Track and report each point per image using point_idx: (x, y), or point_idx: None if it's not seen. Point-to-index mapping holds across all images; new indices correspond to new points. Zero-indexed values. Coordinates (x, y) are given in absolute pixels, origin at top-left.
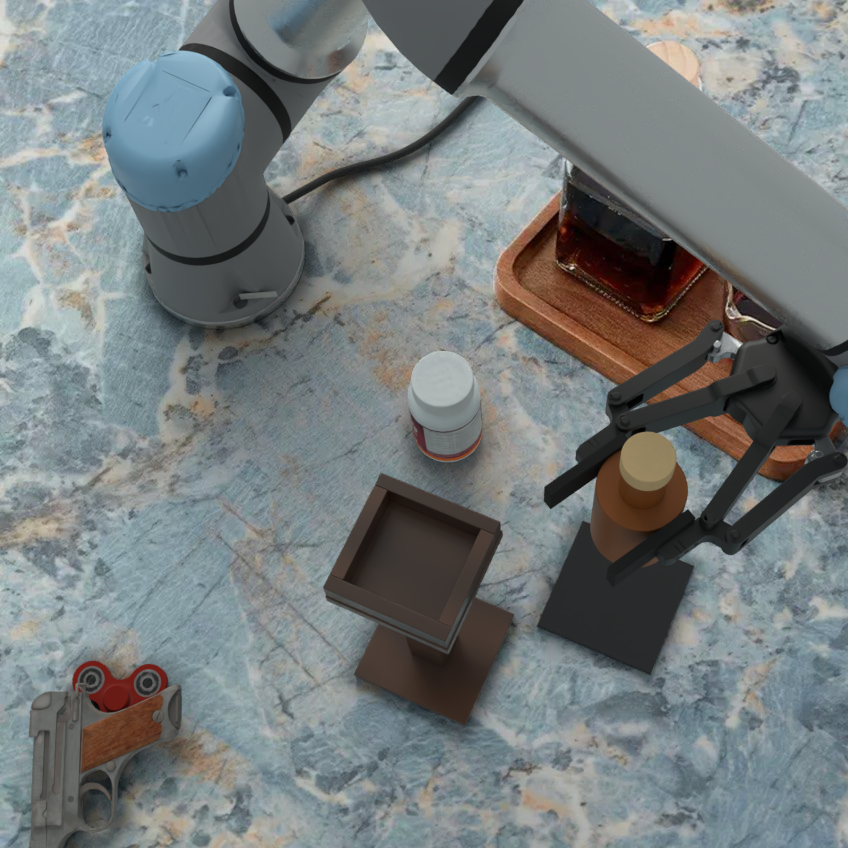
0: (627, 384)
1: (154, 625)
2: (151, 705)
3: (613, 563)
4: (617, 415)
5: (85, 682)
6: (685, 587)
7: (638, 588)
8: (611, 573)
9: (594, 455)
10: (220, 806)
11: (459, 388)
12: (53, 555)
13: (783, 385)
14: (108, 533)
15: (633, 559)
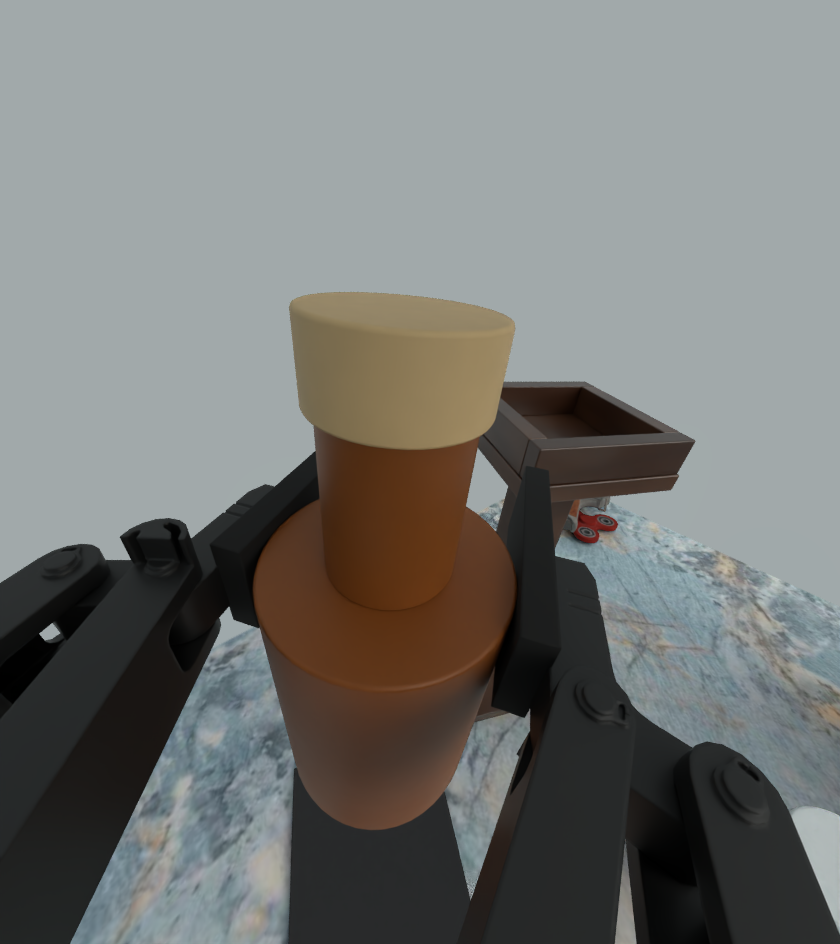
0: (814, 933)
1: (621, 561)
2: (572, 511)
3: None
4: (636, 734)
5: (605, 519)
6: None
7: (353, 882)
8: None
9: (545, 552)
10: (499, 517)
11: (831, 894)
12: (700, 560)
13: None
14: (706, 586)
15: None
